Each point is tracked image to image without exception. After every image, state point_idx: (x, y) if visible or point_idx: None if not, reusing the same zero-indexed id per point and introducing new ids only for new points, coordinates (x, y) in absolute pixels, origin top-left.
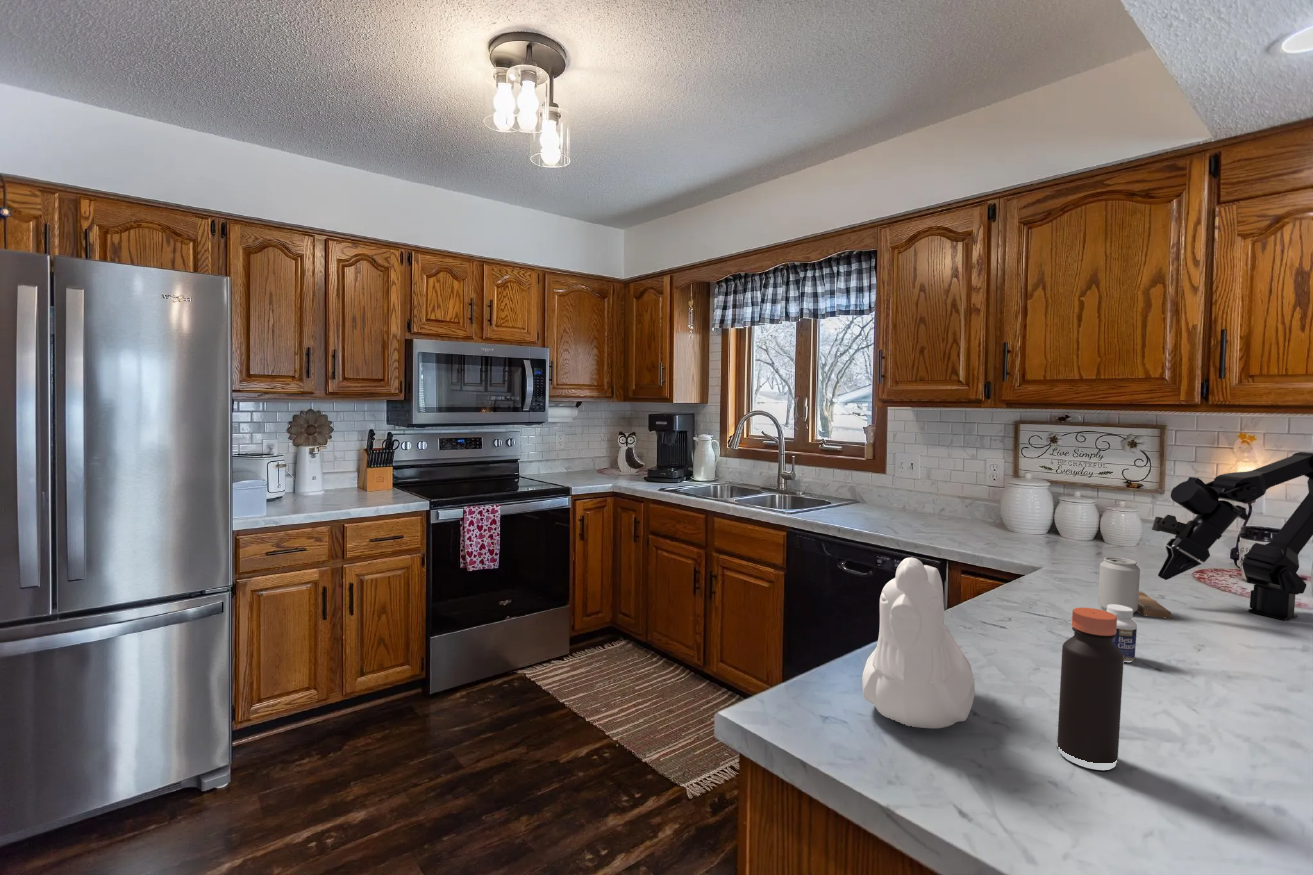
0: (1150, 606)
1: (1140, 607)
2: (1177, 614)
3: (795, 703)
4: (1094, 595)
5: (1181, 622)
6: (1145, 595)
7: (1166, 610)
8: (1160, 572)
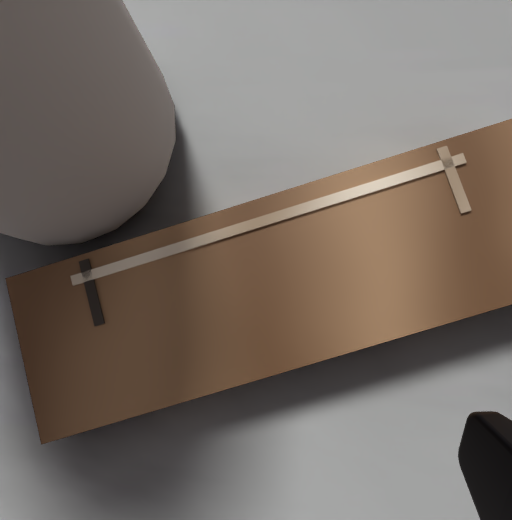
0: (117, 321)
1: (71, 259)
2: (214, 488)
3: None
4: (379, 5)
5: (17, 491)
6: (462, 300)
7: (68, 419)
8: (503, 453)
